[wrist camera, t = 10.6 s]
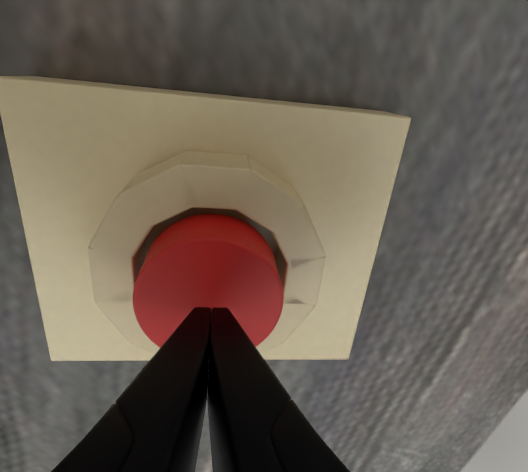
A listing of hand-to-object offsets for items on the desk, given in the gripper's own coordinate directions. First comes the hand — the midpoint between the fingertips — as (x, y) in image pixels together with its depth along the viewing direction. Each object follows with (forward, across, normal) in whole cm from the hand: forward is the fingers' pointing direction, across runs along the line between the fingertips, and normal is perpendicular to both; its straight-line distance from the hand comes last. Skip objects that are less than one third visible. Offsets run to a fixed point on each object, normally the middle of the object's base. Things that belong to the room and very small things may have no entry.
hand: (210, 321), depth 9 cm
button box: (+6, 0, 0) cm, 6 cm away
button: (+2, 0, 0) cm, 2 cm away
